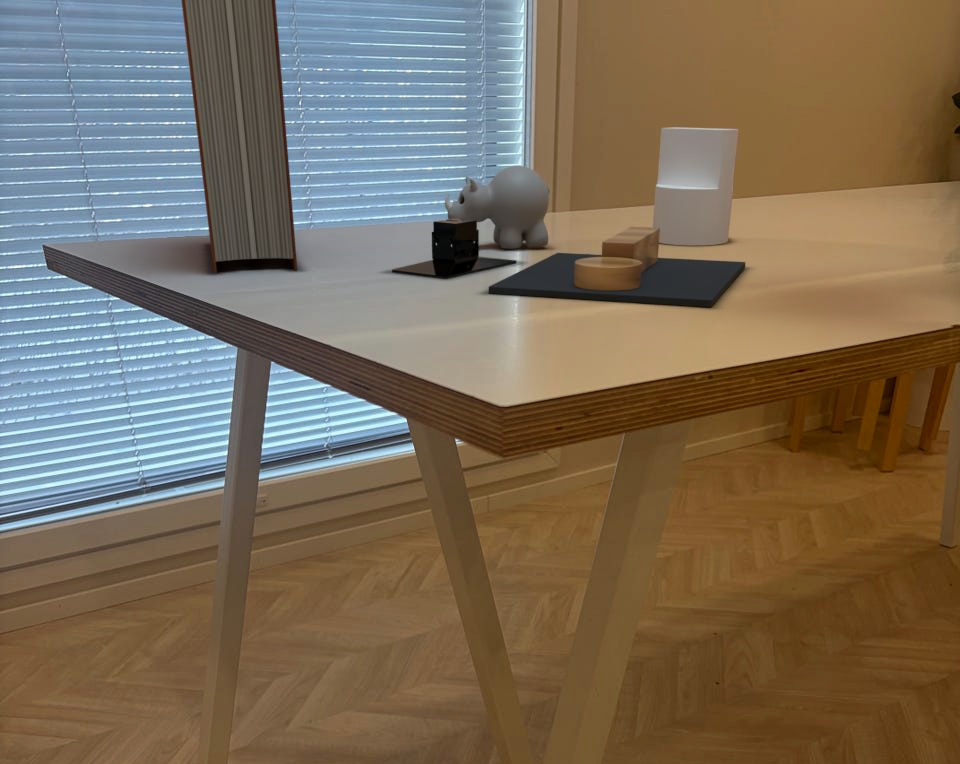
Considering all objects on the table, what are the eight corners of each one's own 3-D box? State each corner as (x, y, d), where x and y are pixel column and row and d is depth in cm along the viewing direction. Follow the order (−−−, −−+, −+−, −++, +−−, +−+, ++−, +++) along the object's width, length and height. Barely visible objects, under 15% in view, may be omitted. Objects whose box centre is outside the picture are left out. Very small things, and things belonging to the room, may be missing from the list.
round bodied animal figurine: (440, 244, 121) (439, 164, 117) (540, 241, 123) (542, 163, 118) (450, 253, 114) (448, 169, 110) (554, 249, 116) (557, 167, 112)
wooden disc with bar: (614, 258, 107) (616, 225, 105) (672, 261, 105) (674, 228, 103) (566, 288, 91) (567, 250, 90) (632, 292, 89) (634, 254, 88)
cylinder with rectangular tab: (742, 239, 123) (754, 128, 118) (700, 247, 118) (711, 131, 112) (679, 233, 129) (688, 126, 123) (636, 240, 123) (644, 128, 117)
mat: (745, 268, 105) (745, 261, 105) (711, 307, 87) (711, 300, 86) (556, 258, 111) (557, 252, 111) (488, 293, 93) (488, 286, 92)
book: (297, 270, 104) (267, -89, 90) (215, 273, 103) (171, -92, 88) (279, 240, 124) (253, -59, 109) (210, 243, 122) (174, -61, 108)
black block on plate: (464, 259, 112) (464, 213, 110) (519, 265, 108) (520, 218, 106) (390, 272, 103) (389, 223, 101) (448, 280, 100) (447, 229, 97)
